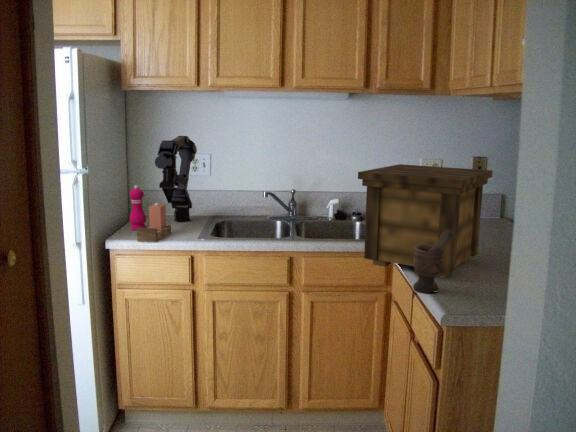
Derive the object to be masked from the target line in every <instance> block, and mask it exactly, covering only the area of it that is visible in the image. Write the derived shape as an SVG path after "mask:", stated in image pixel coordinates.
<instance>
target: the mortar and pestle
mask: <svg viewBox="0 0 576 432" xmlns="http://www.w3.org/2000/svg"><path fill="white" fill-rule="evenodd" d="M453 234H454V232H453V231H452V230H450V229H446V230H445V231H444V232H443V233H442V234H441V236H440V238H439V239H438V241H437V243H436V244H435V245H428V244H422V245H416V246H415V247H414V259H413V263H414V266H413V268H414V269H413V270H414V273H415V274H416V275H417V276H418V279H417V281H416V282H415V283H414V284H413V286H412V287H413V290H414V291H415V292H419V293H422V294H423V293H424V294H426V293H427V294H431V293H430V292H434V291H437V290H438V291H439V285H438V283H436V282H435V278H437V276H438V275H439V273H440V270H441V268H442V263H443V254H444V249H443V248H442V247H443V246H444V245H445V244H446V243H447V242H448V241H449V240H450V239H451V238H452V236H453Z"/></svg>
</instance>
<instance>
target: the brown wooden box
mask: <svg viewBox="0 0 576 432" xmlns="http://www.w3.org/2000/svg"><path fill="white" fill-rule="evenodd" d="M171 234H172V225H171V224H168V225H166V227H164V228H163V229H161V230H157V228H150V225H149V226H147V227H145V228H137V230H136V239H137V242H139V243H143V242H144V243H158V242H159V241H161V240H162V239H164V238H165V237H167V236H168V235H171Z"/></svg>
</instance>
